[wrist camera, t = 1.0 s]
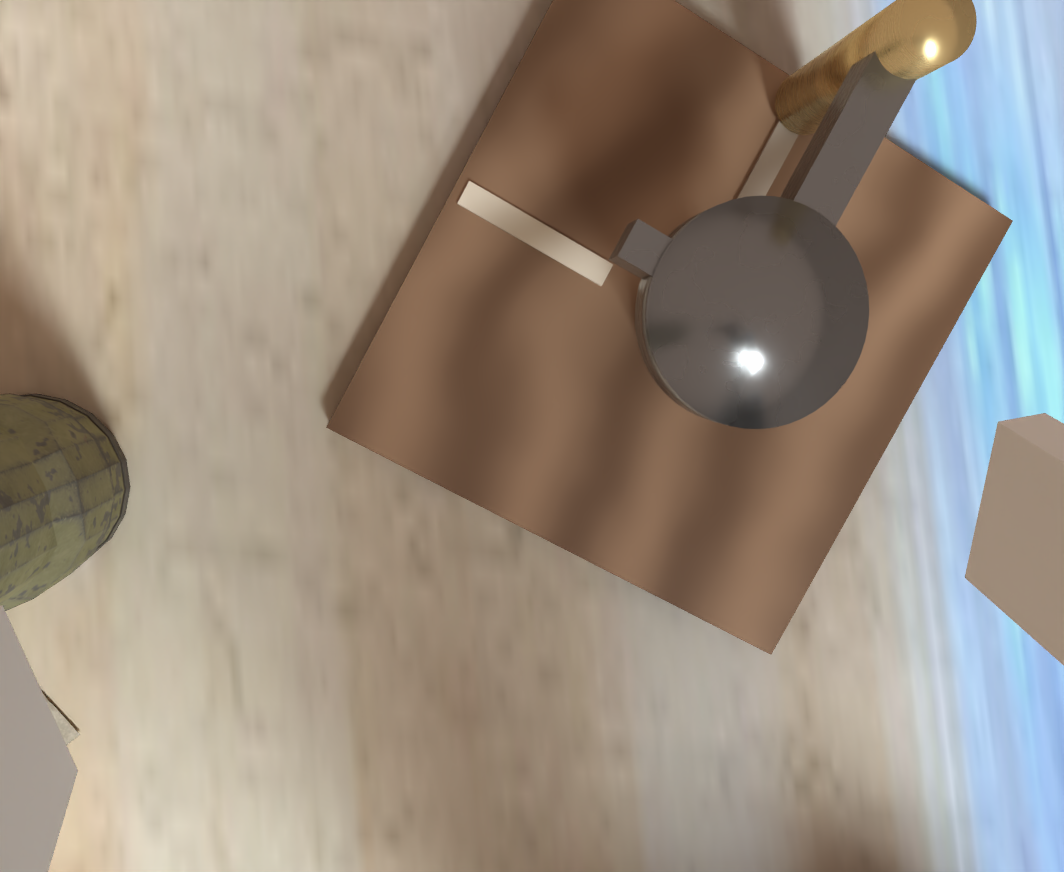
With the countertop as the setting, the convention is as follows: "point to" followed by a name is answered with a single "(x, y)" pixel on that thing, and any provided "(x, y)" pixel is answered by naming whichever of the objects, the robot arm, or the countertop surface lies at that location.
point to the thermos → (54, 492)
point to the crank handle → (786, 239)
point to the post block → (609, 319)
